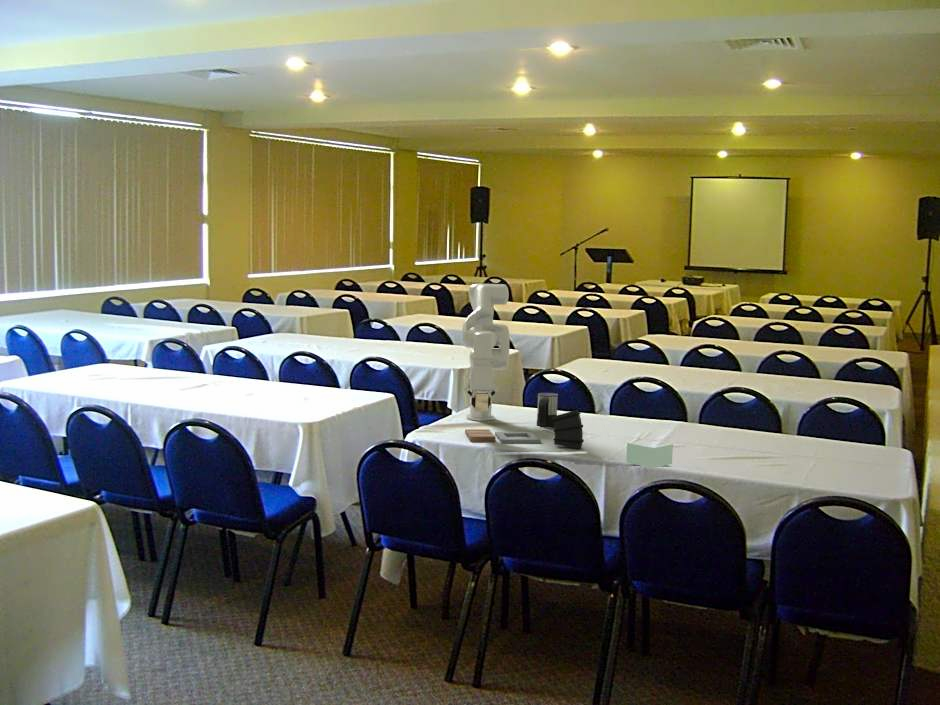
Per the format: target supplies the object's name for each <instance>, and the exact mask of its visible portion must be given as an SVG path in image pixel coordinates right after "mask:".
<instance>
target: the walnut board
mask: <svg viewBox="0 0 940 705" xmlns="http://www.w3.org/2000/svg"><path fill="white" fill-rule="evenodd" d="M465 434H466V435H465ZM464 435H465V436H466V437H467V439H468V440H469V441H470V443H496V436H495V434H493V432H492V431H491V430H490V429H486V428H485V429H482V428H481V429H476V428H475V429H473V428H471V429H470V428H469V429H465V430H464Z"/></svg>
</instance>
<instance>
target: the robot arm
mask: <svg viewBox="0 0 940 705" xmlns="http://www.w3.org/2000/svg"><path fill="white" fill-rule="evenodd" d="M509 295H510V294H509V288H508V286H507V284H503V283H475V284H474V283H473V284H471V285H470V286H468V300H469V302H470V305H471V308H472V310H473V311H472V312H471V313H470V314H469V315H468V316H467V317H466V318H465V320H464V321H463V324H462V327H461V328H462V330H461V331H462V333H461V343H462V345H463V347H464V348H467V349H471V351H470V352H469V365H470V369H469V373H468V381H467V383H466V385H465V386H464V387H463V388H462V389H463V391H465V392H466V394H468V395H470V399H469V401H470V402H469V403H470V404H469V405H470V406H469V414H467V415H465V416H466V419H467V420H470V421H478V422H479V421H481V422H486V421H488V422H489V421H493V420H495V418H496V417H495V415H493V414H492V403H493V396H494V395H495V394H496V393H498V392H499V391H500V388H499V387H498V385H497V384H496V383H495V373H494V371H505V370H507V369H508V368H509V364H510V330H509V327H508V326H507V325H506V324H503V323H494V313H495V311H494V310H495V308H494V307H495V306H494V305H498V306H500V305H504V306H505V305H507V304H508V302H509ZM472 328H473V329H472ZM495 346H497V347H498V348H495ZM469 389H470V390H469ZM476 392H487V393H488V411H475V410H474V407H475V401H476V398H475V393H476Z"/></svg>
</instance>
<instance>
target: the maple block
mask: <svg viewBox="0 0 940 705" xmlns="http://www.w3.org/2000/svg"><path fill="white" fill-rule="evenodd" d="M475 398H476V401H475V407H474V410H475V411H488V393H487V392H476V393H475Z"/></svg>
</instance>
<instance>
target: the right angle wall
mask: <svg viewBox="0 0 940 705" xmlns="http://www.w3.org/2000/svg"><path fill="white" fill-rule="evenodd" d="M673 445H674V444H673V443H668V444H667V443H666V444H663V445H657V446H649V445H643V444H638V443H634V442H626V460H625V462H626V463H627V464H631V465H636V466H641V467H644V468H648V469H649V468H650V469H656V468H661V467H665V466H669V465H673V452H674V451H673V448H674V446H673Z"/></svg>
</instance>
